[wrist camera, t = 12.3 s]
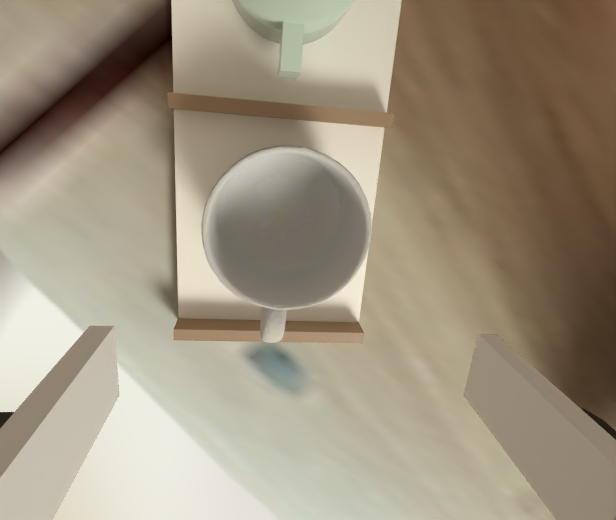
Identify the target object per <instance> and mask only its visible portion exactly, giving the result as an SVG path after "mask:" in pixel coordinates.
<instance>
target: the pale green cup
mask: <svg viewBox="0 0 616 520" xmlns="http://www.w3.org/2000/svg"><path fill="white" fill-rule="evenodd" d="M354 1H355V0H232V2H233V4H234V6H235V8H236V10H237V11H238V13H239V14H240V16H241V17H242V19H243V20H244V21H245V22H246V23H247V24H248V26H249V27H251V28H252V29H253V30H254V31H255V32H256V33H258V34H259V35H261V36H262V37H264V38H266V39H268V40H270V41H272V42H275V43H278V44H280V49H279V68H278V78H280V79H290V80H296V79H297V77H298V76H299V75H300V73H301V64H302V50H303V45H304V44H308V43H311V42H314V41H316V40H318V39H320V38H322V37H323V36H325V35H326V34H328V33H329V32H330V31H331V30H333V28H334V27H335V26H336V25H337V24H338V23H339V22H340V20H341V19H342V18H343V16H344V15H345V14H346V12H347V11H348V10H349V8H350V7H351V5H352V4H353V3H354Z"/></svg>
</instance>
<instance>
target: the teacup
mask: <svg viewBox="0 0 616 520" xmlns="http://www.w3.org/2000/svg"><path fill="white" fill-rule="evenodd" d="M201 226H202V232H201V234H202V242H203V248H204V251H205V255H206V258H207V261H208V263H209V265H210V267H211V269H212V270H213V272H214V273H215V275H216V276H217V277H218V279H219V280H220V282H221V283H222V284H223V285H224V286H225V287H226V288H227V289H228V290H230V291H231V292H232V293H233V294H234V295H236V296H238V297H240V298H241V299H243V300H245V301H247V302H250V303H252V304H255V305H258V306H262V311H261V321H260V337H261V339H262V340H263V341H265V342H268V343H275V342H279V341H281V340H282V338H283V335H284V330H285V322H286V310H293V309H300V308H305V307H309V306H313V305H317V304H319V303H321V302H323V301H325V300H328V299H329V298H331V297H332V296H334V295H336V294H337V293H338V292H340V291H341V290H342V289H343V288H344V287H345V286H346V285H347V284H348V283H349V282H350V281H351V280H352V279H353V278H354V276H355V275H356V274H357V272H358V270H359V268H360V267H361V265H362V263H363V262H364V260H365V257H366V255H367V252H368V249H369V245H370V240H371V213H370V209H369V205H368V201H367V199H366V196H365V194H364V192H363V190H362V188H361V186H360V184H359V183H358V182H357V180H356V179H355V177H354V176H353V175H352V174H351V173H350V172H349V171H348V170H347V169H346V168H345V167H344V166H343V165H341V164H340V163H339V162H338V161H336V160H334V159H332V158H331V157H329V156H328V155H326V154H324V153H321V152H319V151H316V150H313V149H310V148H305V147H301V146H291V145H281V146H273V147H267V148H263V149H259V150H256V151H254V152H251V153H249V154H247V155H246V156H244V157H242V158H241V159H239V160H238V161H237V162H235V163H234V164H233V165H232V166H231V167H230V168H229V169H228V170H227V171H226V172H225V173H224V174H223V175H222V176H221V177H220V179H219V180H218V181H217V183H216V184H215V186H214V187H213V189H212V191H211V193H210V195H209V197H208V199H207V202H206V204H205V209H204V212H203V218H202V224H201Z"/></svg>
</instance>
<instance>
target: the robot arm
mask: <svg viewBox="0 0 616 520" xmlns="http://www.w3.org/2000/svg"><path fill="white" fill-rule="evenodd" d="M118 397H119V385H118V372H117V359H116V346H115V333H114V326H89V327H88V329H87V330H86V331H85V332H84V333H83V334H82V336H81V337H80V338H79V339H78V340H77V341H76V342H75V344H74V345H73V346H72V347H71V348H70V349H69V351H67V353H66V354H65V355H64V356H63V357H62V358H61V360H60V361H59V362H58V363H57V364H56V365H55V366H54V368H53V369H52V370H51V371H50V372H49V373H48V374H47V376H46V377H45V378H44V379H43V380H42V381H41V382H40V384H39V385H38V386H37V387H36V388H35V389H34V390H33V392H32V393H31V394H30V395H29V396H28V398H26V400H25V401H24V402H23V403H22V404H21V405H20V406H19V408H18V409H17V410H16V411H15V412H0V520H52V519H53V518H54V516H55V514H56V512H57V510H58V508H59V506H60V505H61V503H62V501H63V499H64V497H65V495H66V493H67V492H68V490H69V488H70V486H71V484H72V482H73V480H74V479H75V477H76V475H77V473H78V471H79V469H80V467H81V465H82V464H83V462H84V460H85V458H86V456H87V454H88V452H89V450H90V449H91V447H92V445H93V443H94V441H95V439H96V438H97V436H98V434H99V432H100V430H101V428H102V426H103V424H104V423H105V421H106V419H107V417H108V415H109V413H110V412H111V410H112V408H113V406H114V404H115V402H116V400H117V398H118ZM464 397H465V398H466V399H467V401H468V402H469V403H470V405H471V406H472V407H473V409H474V410H475V411H476V413H477V414H478V415H479V417H480V418H481V419H482V421H483V422H484V423H485V425H486V426H487V427H488V429H489V430H490V431H491V433H492V434H493V435H494V437H495V438H496V439H497V441H498V442H499V443H500V445H501V446H502V448H503V449H504V450H505V452H506V453H507V454H508V456H509V457H510V458H511V460H512V461H513V462H514V464H515V465H516V466H517V468H518V469H519V470H520V472H521V473H522V474H523V476H524V477H525V478H526V480H527V481H528V482H529V484H530V485H531V486H532V488H533V489H534V490H535V492H536V493H537V494H538V496H539V497H540V498H541V500H542V501H543V502H544V504H545V505H546V507H547V508H548V509H549V511H550V512H551V513H552V515H553V516H554V517H555V519H556V520H616V431H615V430H614V429H613V428H612V427H610V426H609V425H608V424H607V423H606V422H605V421H603V420H602V419H600V418H599V417H597V416H595V415H594V414H592V413H590V412H589V411H587V410H585V409H580V408H579V407H578V406H577V405H576V404H575V403H574V402H573V401H571V400H570V399H569V398H568V397H567V396H566V395H565V394H563V393H562V392H561V391H560V390H559V389H558V388H557V387H556V386H554V385H553V384H552V383H551V382H550V381H549V380H548V379H547V378H545V377H544V376H543V375H542V374H541V373H540V372H539V371H538V370H536V369H535V368H534V367H533V366H532V365H531V364H530V363H529V362H527V361H526V360H525V359H524V358H523V357H522V356H521V355H520V354H518V353H517V352H516V351H515V350H514V349H513V348H512V347H511V346H509V345H508V344H507V343H506V342H505V341H504V340H503V339H502V338H500V337H499V336H498V335H497V334H478V337H477V341H476V345H475V349H474V354H473V358H472V362H471V366H470V370H469V375H468V379H467V383H466V387H465V391H464Z"/></svg>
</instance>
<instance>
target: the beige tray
mask: <svg viewBox="0 0 616 520" xmlns="http://www.w3.org/2000/svg"><path fill="white" fill-rule="evenodd" d="M401 1H402V0H355V1H354V3H353V4H352V5H351V7H350V8H349V10H348V11H347V12H346V14H345V15H344V16H343V18H342V19H341V20H340V22H339V23H338V24H337V25H336V26H335V27H334V28H333V30H331V31H330V32H329V33H328V34H326V35H325V36H323V37H322V38H320V39H318V40H316V41H314V42H311V43H308V44H304V45H303V50H302V64H301V73H300V75H299V76H298V77H297V79H296V80H290V79H280V78H278V68H279V49H280V44H278V43H275V42H272V41H270V40H268V39H266V38H264V37H262V36H261V35H259V34H258V33H256V32H255V31H254V30H253V29H252V28H251V27H249V26H248V24H247V23H246V22H245V21H244V20H243V19H242V17H241V16H240V14H239V13H238V11H237V10H236V8H235V6H234V4H233V2H232V0H171V6H172V51H173V93H171V92H167V101H168V108H171V109H174V141H175V185H176V230H177V275H178V320H177V323H176V325H175V327H174V340H194V341H257V342H265V341H263V340H262V339H261V337H260V321H261V311H262V306H258V305H255V304H252V303H250V302H247V301H245V300H243V299H241V298H240V297H238V296H236V295H234V294H233V293H232V292H231V291H230V290H228V289H227V288H226V287H225V286H224V285H223V284H222V283H221V282H220V280H219V279H218V277H217V276H216V275H215V273H214V272H213V270H212V269H211V267H210V265H209V263H208V261H207V258H206V255H205V251H204V248H203V242H202V234H201V232H202V226H201V224H202V218H203V212H204V209H205V204H206V202H207V199H208V197H209V195H210V193H211V191H212V189H213V187H214V186H215V184H216V183H217V181H218V180H219V179H220V177H221V176H222V175H223V174H224V173H225V172H226V171H227V170H228V169H229V168H230V167H231V166H232V165H233V164H234V163H235V162H237V161H238V160H239V159H241V158H242V157H244V156H246V155H247V154H249V153H251V152H254V151H256V150H259V149H263V148H267V147H273V146H281V145H291V146H301V147H305V148H310V149H313V150H316V151H319V152H321V153H324V154H326V155H328V156H329V157H331V158H332V159H334V160H336V161H338V162H339V163H340V164H341V165H343V166H344V167H345V168H346V169H347V170H348V171H349V172H350V173H351V174H352V175H353V176H354V177H355V179H356V180H357V182H358V183H359V184H360V186H361V188H362V190H363V192H364V194H365V196H366V199H367V201H368V205H369V209H370V213H371V226H372V218H373V211H374V203H375V196H376V188H377V181H378V173H379V166H380V158H381V151H382V143H383V136H384V128H392V127H393V120H394V113H387V106H388V98H389V91H390V83H391V76H392V69H393V61H394V54H395V46H396V39H397V31H398V24H399V16H400V9H401ZM367 256H368V252H367V255H366V257H365V260H364V262H363V263H362V265H361V267H360V268H359V270H358V272H357V274H356V275H355V276H354V278H353V279H352V280H351V281H350V282H349V283H348V284H347V285H346V286H345V287H344V288H343V289H342V290H341V291H340V292H338V293H337V294H336V295H334V296H332V297H331V298H329V299H328V300H325V301H323V302H321V303H319V304H317V305H313V306H309V307H305V308H300V309H293V310H286V322H285V330H284V335H283V338H282V340H281V341H279V342H319V343H363V336H364V332H363V330H362V328H361V326H360V324H359V316H360V308H361V301H362V293H363V286H364V278H365V271H366V263H367Z"/></svg>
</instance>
